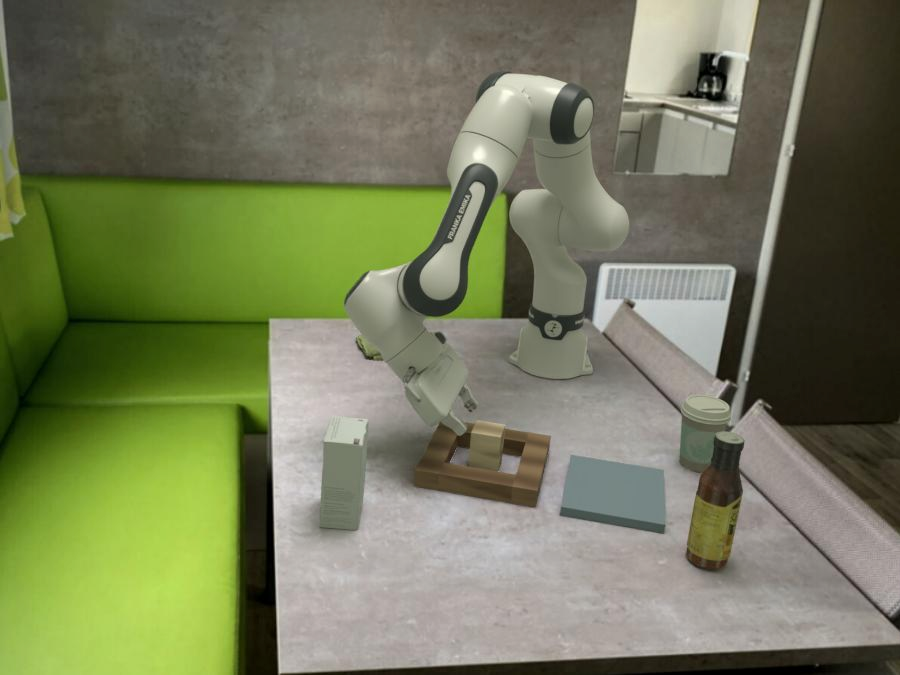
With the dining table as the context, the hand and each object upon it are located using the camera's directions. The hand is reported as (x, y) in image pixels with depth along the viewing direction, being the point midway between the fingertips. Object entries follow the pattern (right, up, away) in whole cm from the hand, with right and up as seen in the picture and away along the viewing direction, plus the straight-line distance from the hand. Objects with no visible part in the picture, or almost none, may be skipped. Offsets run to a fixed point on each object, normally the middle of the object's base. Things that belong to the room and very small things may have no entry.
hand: (469, 420), depth 147 cm
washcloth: (-15, +11, +52) cm, 55 cm away
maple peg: (+3, -8, +2) cm, 9 cm away
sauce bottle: (+34, -19, -19) cm, 43 cm away
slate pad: (+24, -12, -3) cm, 27 cm away
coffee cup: (+41, -9, +9) cm, 43 cm away
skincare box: (-20, -13, -15) cm, 28 cm away
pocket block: (+3, -8, +2) cm, 9 cm away
